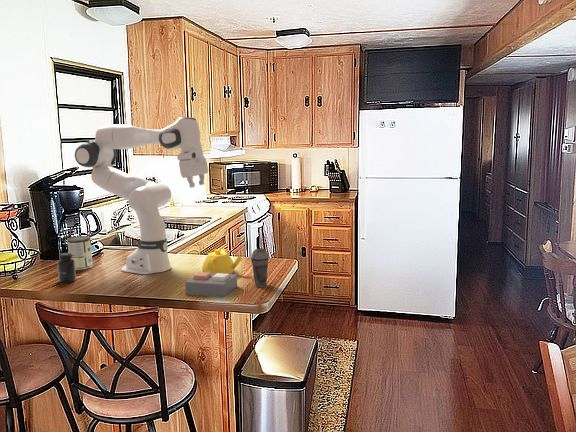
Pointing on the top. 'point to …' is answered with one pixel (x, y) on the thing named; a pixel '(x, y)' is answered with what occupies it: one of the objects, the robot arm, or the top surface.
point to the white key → (220, 277)
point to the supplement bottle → (66, 268)
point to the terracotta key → (202, 276)
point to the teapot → (220, 262)
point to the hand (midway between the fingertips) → (197, 186)
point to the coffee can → (80, 251)
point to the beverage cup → (260, 266)
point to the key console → (211, 286)
